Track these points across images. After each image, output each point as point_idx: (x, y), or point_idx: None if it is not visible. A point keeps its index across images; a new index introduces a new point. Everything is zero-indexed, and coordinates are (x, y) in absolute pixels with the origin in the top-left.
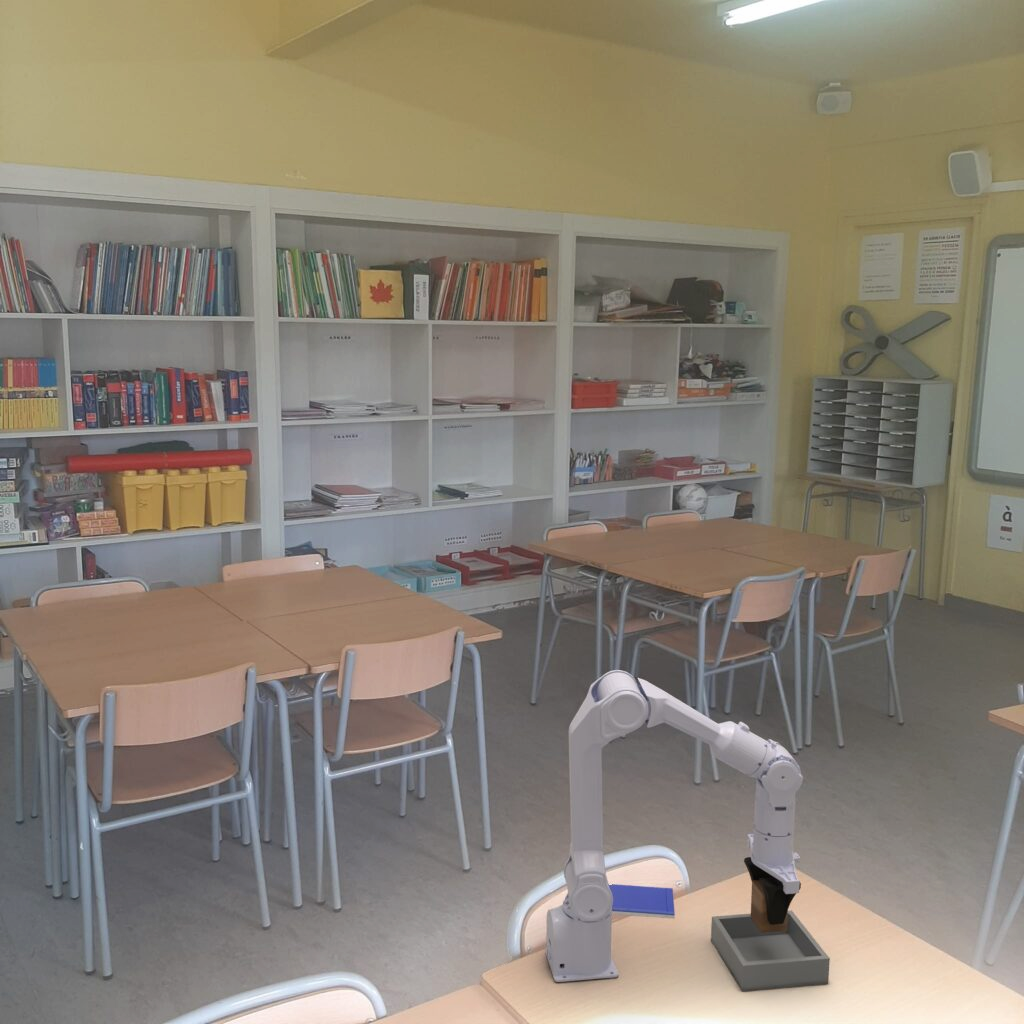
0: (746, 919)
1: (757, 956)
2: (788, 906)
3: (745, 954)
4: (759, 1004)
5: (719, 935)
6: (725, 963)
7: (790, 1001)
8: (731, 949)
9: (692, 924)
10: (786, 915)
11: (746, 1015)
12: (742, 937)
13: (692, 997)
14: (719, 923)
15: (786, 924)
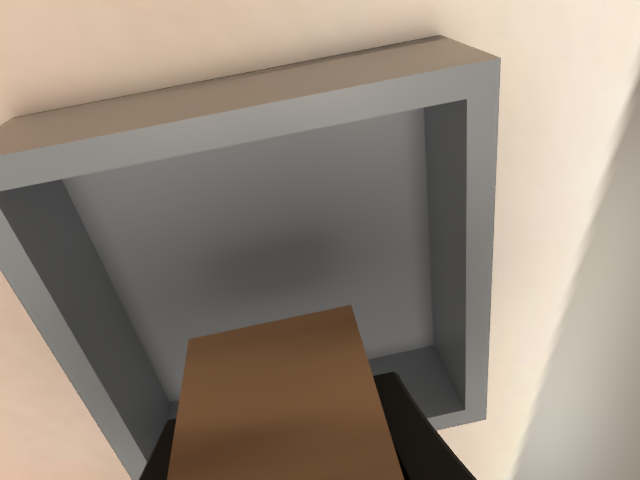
0: (109, 381)
1: (269, 296)
2: (471, 477)
3: None
4: (514, 307)
5: None
6: None
7: (520, 215)
8: None
9: (62, 448)
10: (373, 384)
11: (553, 342)
12: (136, 332)
13: (453, 445)
14: None
15: (359, 334)
